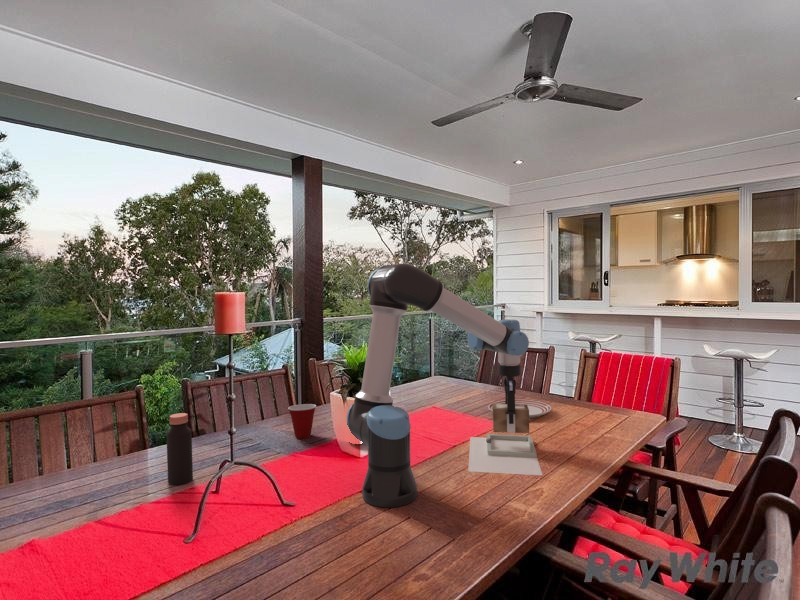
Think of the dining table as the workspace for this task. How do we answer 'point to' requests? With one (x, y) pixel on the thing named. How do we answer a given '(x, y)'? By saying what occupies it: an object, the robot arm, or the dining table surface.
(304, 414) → the plastic cup
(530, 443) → the grey board with frame
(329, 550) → the dining table surface
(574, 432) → the dining table surface
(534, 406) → the dinner plate
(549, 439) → the dining table surface
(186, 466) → the bottle
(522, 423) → the wooden block
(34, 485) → the dining table surface
